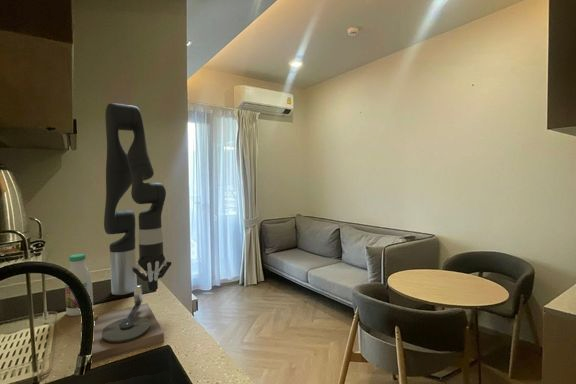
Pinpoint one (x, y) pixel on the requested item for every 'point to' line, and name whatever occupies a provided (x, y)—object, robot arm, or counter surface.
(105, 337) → the gray disc with handle
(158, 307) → the counter surface
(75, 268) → the milk bottle
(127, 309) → the stand
